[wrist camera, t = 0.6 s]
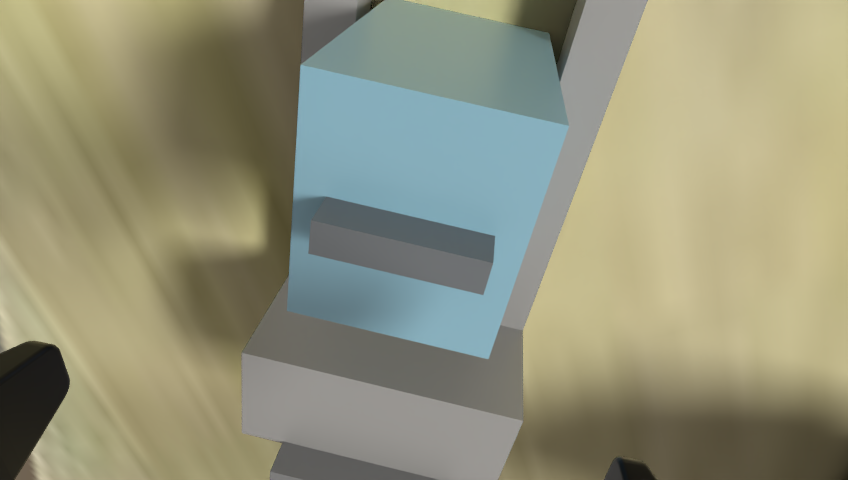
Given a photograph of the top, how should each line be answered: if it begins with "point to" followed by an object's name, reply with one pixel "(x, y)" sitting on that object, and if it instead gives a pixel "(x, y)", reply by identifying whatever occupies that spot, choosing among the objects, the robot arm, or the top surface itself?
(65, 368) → the robot arm
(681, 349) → the top surface
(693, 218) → the top surface
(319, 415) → the dock
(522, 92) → the light blue block
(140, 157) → the top surface
